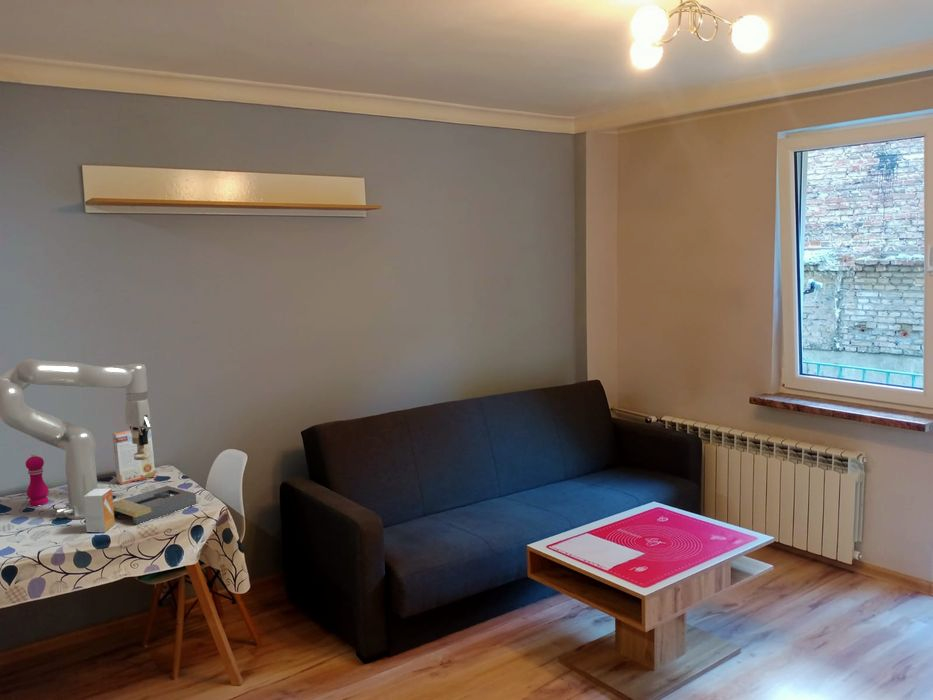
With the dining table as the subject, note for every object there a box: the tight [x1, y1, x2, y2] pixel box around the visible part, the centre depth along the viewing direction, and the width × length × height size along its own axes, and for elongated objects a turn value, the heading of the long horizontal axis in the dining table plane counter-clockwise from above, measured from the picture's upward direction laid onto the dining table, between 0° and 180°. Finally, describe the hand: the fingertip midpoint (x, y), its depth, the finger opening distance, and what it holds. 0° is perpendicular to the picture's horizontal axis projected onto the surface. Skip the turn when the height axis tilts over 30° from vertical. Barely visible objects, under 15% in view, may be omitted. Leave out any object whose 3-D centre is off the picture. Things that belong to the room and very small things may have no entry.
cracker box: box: [111, 428, 156, 485], centre depth 306 cm, size 14×6×21 cm, turn 130°
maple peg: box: [132, 429, 148, 460], centre depth 281 cm, size 5×5×11 cm
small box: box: [84, 487, 116, 533], centre depth 252 cm, size 8×6×13 cm
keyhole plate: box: [113, 485, 197, 526], centre depth 269 cm, size 24×18×4 cm
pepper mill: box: [25, 452, 50, 507], centre depth 278 cm, size 7×7×20 cm
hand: (140, 443), depth 281 cm, fingers closed on maple peg, 4 cm apart
